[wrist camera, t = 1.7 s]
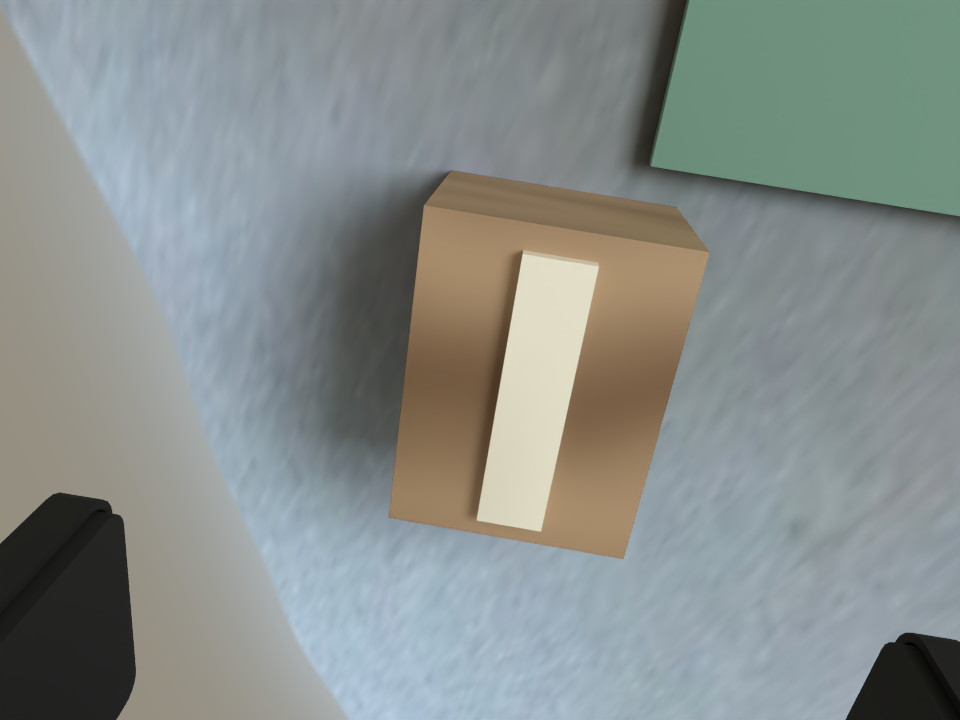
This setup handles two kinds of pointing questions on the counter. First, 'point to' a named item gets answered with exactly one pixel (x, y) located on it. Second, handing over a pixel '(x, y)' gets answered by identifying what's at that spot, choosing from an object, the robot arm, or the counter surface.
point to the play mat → (819, 98)
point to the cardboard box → (540, 360)
